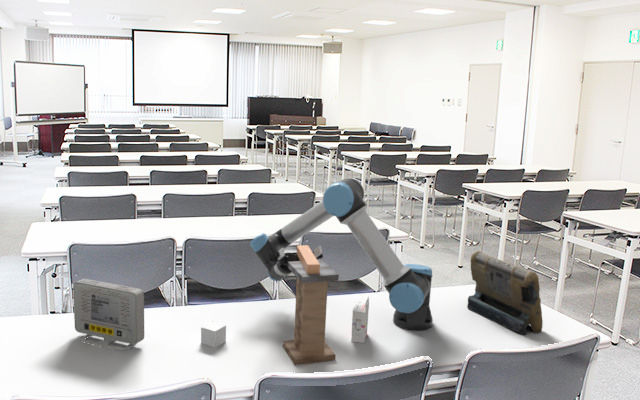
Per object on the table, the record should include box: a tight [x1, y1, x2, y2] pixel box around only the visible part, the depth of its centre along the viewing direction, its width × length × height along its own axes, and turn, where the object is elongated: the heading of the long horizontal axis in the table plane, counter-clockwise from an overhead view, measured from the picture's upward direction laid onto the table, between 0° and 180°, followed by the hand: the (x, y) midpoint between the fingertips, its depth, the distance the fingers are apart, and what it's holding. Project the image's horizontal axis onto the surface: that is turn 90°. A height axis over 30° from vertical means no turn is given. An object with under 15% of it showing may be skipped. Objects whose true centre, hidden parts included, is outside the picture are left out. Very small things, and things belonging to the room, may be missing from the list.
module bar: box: [296, 244, 320, 274], centre depth 191 cm, size 22×4×3 cm, turn 11°
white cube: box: [200, 320, 227, 349], centre depth 196 cm, size 6×6×6 cm
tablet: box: [466, 250, 544, 336], centre depth 227 cm, size 33×14×25 cm, turn 34°
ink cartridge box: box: [350, 296, 370, 344], centre depth 204 cm, size 9×5×15 cm, turn 168°
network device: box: [72, 278, 145, 352], centre depth 191 cm, size 26×9×20 cm, turn 71°
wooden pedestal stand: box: [282, 259, 339, 366], centre depth 189 cm, size 16×14×30 cm
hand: (302, 250), depth 195 cm, fingers open, 13 cm apart
